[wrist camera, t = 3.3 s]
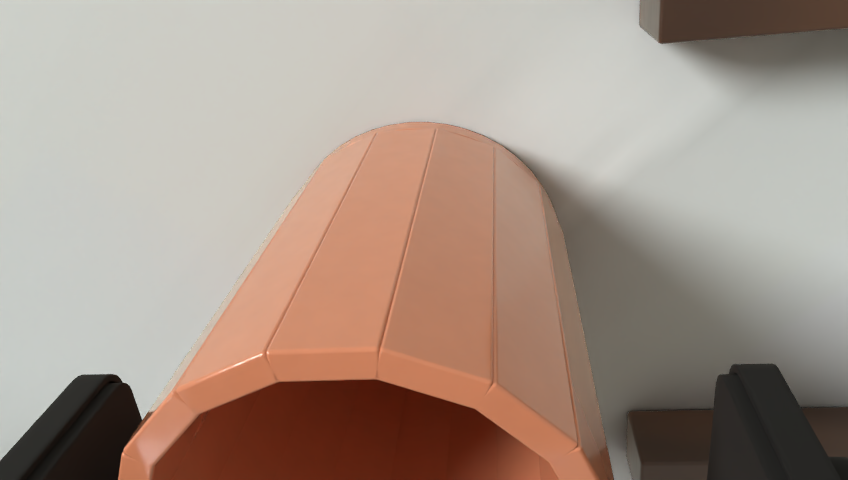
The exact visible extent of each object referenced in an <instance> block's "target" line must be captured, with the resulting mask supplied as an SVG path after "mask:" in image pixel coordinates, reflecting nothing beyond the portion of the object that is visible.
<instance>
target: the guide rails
mask: <svg viewBox="0 0 848 480" xmlns="http://www.w3.org/2000/svg"><path fill="white" fill-rule="evenodd" d="M639 25H640V27H641V28H642V29H644V30H645V31H646V32H647V33H648V34H649V35H650V36H652V37H653V38H654V39H655V40H656V41H657V42H658V43H661V44H667V43H679V42H691V41H703V40H715V39H727V38H739V37H751V36H763V35H775V34H787V33H799V32H811V31H823V30H835V29H847V28H848V0H640V14H639ZM801 409H802V411H803V413H804V415H805V416H806V418H807V420H808V422H809V423H810V425H811V427H812V429H813V430H814V432H815V434H816V436H817V437H818V439H819V441H820V443H821V445H822V446H823V448H824V450H825V452H826V453H827V455H828V457H846V458H848V407H821V408H801ZM713 411H714V410H668V411H630V412H628V415H627V447H626V456H627V461H628V465H629V469H630V473H631V477H632V480H707V473H708V462H709V452H710V442H711V432H712V421H713Z"/></svg>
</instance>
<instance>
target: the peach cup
mask: <svg viewBox="0 0 848 480" xmlns="http://www.w3.org/2000/svg"><path fill="white" fill-rule="evenodd" d="M118 480H614V477H613V473H612V468H611V463H610V458H609V453H608V448H607V443H606V439H605V434H604V429H603V424H602V419H601V414H600V409H599V404H598V400H597V395H596V390H595V385H594V380H593V375H592V370H591V366H590V361H589V356H588V351H587V346H586V341H585V336H584V332H583V327H582V322H581V317H580V312H579V307H578V302H577V297H576V293H575V288H574V283H573V278H572V273H571V268H570V263H569V259H568V254H567V249H566V244H565V239H564V235H563V231H562V229H561V227H560V225H559V223H558V219H557V215H556V213H555V210H554V208H553V205H552V203H551V200H550V198H549V196H548V195H547V193H546V191H545V190H544V188H543V186H542V184H541V183H540V182H539V180H538V179H537V178H536V177H535V175H534V174H533V173H532V172H531V170H530V169H529V168H528V167H527V166H526V165H525V164H524V163H523V162H522V161H521V160H520V159H518V158H517V157H516V156H515V155H514V154H512V153H511V152H510V151H508V150H507V149H505V148H504V147H503V146H501V145H500V144H498V143H496V142H494V141H492V140H490V139H489V138H487V137H485V136H483V135H480V134H478V133H475V132H472V131H470V130H467V129H464V128H460V127H456V126H452V125H448V124H440V123H432V122H407V123H400V124H393V125H388V126H384V127H381V128H377V129H373V130H371V131H368V132H366V133H363V134H361V135H359V136H356V137H354V138H353V139H351V140H349V141H348V142H346V143H344V144H343V145H341V146H339V147H338V148H337V149H336V150H334V151H333V152H332V153H331V154H330V155H328V156H327V157H326V158H325V159H324V160H323V161H322V162H321V163H320V164H319V165H318V167H317V168H316V169H315V170H314V171H313V173H312V174H311V176H310V177H309V179H308V180H307V181H306V182H305V184H304V185H303V186H302V187H301V189H300V190H299V191H298V192H297V194H296V195H295V196H294V197H293V199H292V200H291V202H290V203H289V205H288V206H287V208H286V209H285V211H284V212H283V214H282V215H281V217H280V218H279V220H278V221H277V223H276V224H275V226H274V227H273V228H272V230H271V231H270V233H269V234H268V236H267V237H266V239H265V240H264V242H263V243H262V245H261V246H260V248H259V249H258V251H257V252H256V254H255V255H254V257H253V258H252V259H251V261H250V262H249V264H248V265H247V267H246V268H245V270H244V271H243V273H242V274H241V276H240V277H239V279H238V280H237V282H236V283H235V285H234V286H233V288H232V289H231V290H230V292H229V293H228V295H227V296H226V298H225V299H224V301H223V302H222V304H221V305H220V307H219V308H218V310H217V311H216V313H215V314H214V316H213V317H212V319H211V320H210V321H209V323H208V324H207V326H206V327H205V329H204V330H203V332H202V333H201V335H200V336H199V338H198V339H197V341H196V342H195V344H194V345H193V347H192V348H191V350H190V351H189V352H188V354H187V355H186V357H185V358H184V360H183V361H182V363H181V364H180V366H179V367H178V369H177V370H176V372H175V373H174V375H173V376H172V378H171V379H170V381H169V382H168V383H167V385H166V386H165V388H164V389H163V391H162V392H161V394H160V395H159V397H158V398H157V400H156V401H155V403H154V404H153V406H152V407H151V409H150V410H149V412H148V413H147V414H146V416H145V417H144V419H143V420H142V422H141V423H140V425H139V426H138V428H137V429H136V431H135V432H134V434H133V435H132V437H131V438H130V440H129V441H128V443H127V444H126V446H125V447H124V450H123V452H122V454H121V461H120V469H119V476H118Z"/></svg>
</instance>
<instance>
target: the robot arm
mask: <svg viewBox="0 0 848 480" xmlns="http://www.w3.org/2000/svg"><path fill="white" fill-rule="evenodd" d="M141 422H142V419H141V416H140V413H139V410H138V407H137V404H136V401H135V398H134V396H133V393H132V390H131V388H130V386H129V385H128V384H126V383H123V382H122V381H121V379H120V378H119V377H118V376H117V375H113V374H99V375H81V376H78V377H77V378H75V379H74V380H73V381H72V382H71V383H70V384H69V385H68V387H67V388H66V389H65V390H64V391H63V392H62V393H61V394H60V395H59V397H58V398H57V399H56V400H55V401H54V402H53V403H52V404H51V405H50V406H49V408H48V409H47V410H46V411H45V412H44V413H43V414H42V415H41V416H40V418H39V419H38V420H37V421H36V422H35V423H34V424H33V425H32V426H31V427H30V429H29V430H28V431H27V432H26V433H25V434H24V435H23V436H22V437H21V439H20V440H19V441H18V442H17V443H16V444H15V445H14V446H13V447H12V448H11V450H10V451H9V452H8V453H7V454H6V455H5V456H4V457H3V458H2V460H1V461H0V480H118V476H119V469H120V461H121V454H122V452H123V450H124V447H125V446H126V444H127V443H128V441H129V440H130V438H131V437H132V435H133V434H134V432H135V431H136V429H137V428H138V426H139V425H140V423H141ZM707 480H848V458H846V457H828V455H827V453H826V452H825V450H824V448H823V446H822V445H821V443H820V441H819V439H818V437H817V436H816V434H815V432H814V430H813V429H812V427H811V425H810V423H809V422H808V420H807V418H806V416H805V415H804V413H803V411H802V409H801V408H800V406H799V404H798V402H797V401H796V399H795V397H794V395H793V393H792V392H791V390H790V388H789V386H788V385H787V383H786V381H785V379H784V378H783V376H782V374H781V372H780V371H779V369H778V368H777V366H776V365H774V364H734V365H732V366H731V369H730V372H729V374H728V375H718V377H717V381H716V390H715V401H714V411H713V421H712V432H711V442H710V452H709V462H708V473H707Z"/></svg>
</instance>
